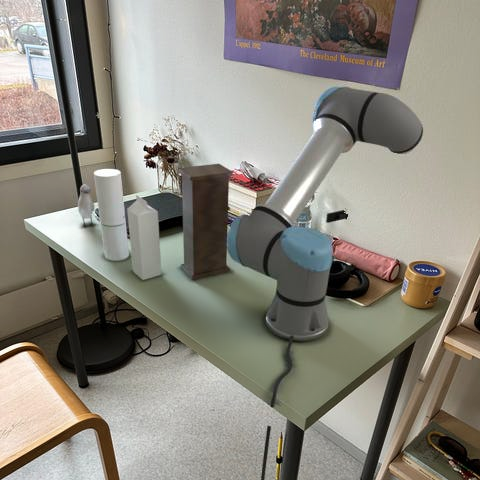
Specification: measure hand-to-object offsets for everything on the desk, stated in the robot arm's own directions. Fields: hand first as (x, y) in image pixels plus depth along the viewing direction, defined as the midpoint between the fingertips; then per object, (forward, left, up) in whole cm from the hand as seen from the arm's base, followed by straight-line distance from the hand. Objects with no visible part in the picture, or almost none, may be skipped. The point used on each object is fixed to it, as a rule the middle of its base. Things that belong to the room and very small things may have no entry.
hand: (313, 210), depth 146 cm
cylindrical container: (-31, +52, -13) cm, 62 cm away
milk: (-37, +38, -13) cm, 55 cm away
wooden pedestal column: (-28, +24, -13) cm, 39 cm away
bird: (-16, +73, -13) cm, 76 cm away
